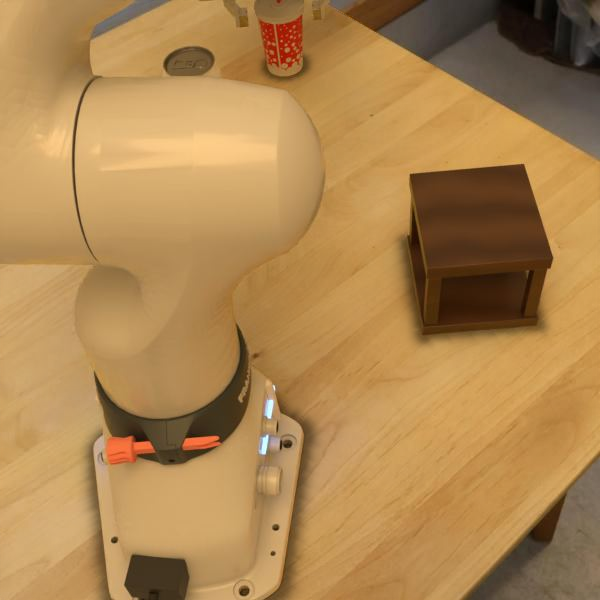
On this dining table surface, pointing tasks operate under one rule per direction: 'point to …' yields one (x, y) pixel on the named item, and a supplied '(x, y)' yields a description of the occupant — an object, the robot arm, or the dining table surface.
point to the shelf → (476, 249)
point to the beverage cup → (281, 34)
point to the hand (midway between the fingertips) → (280, 21)
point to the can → (191, 62)
